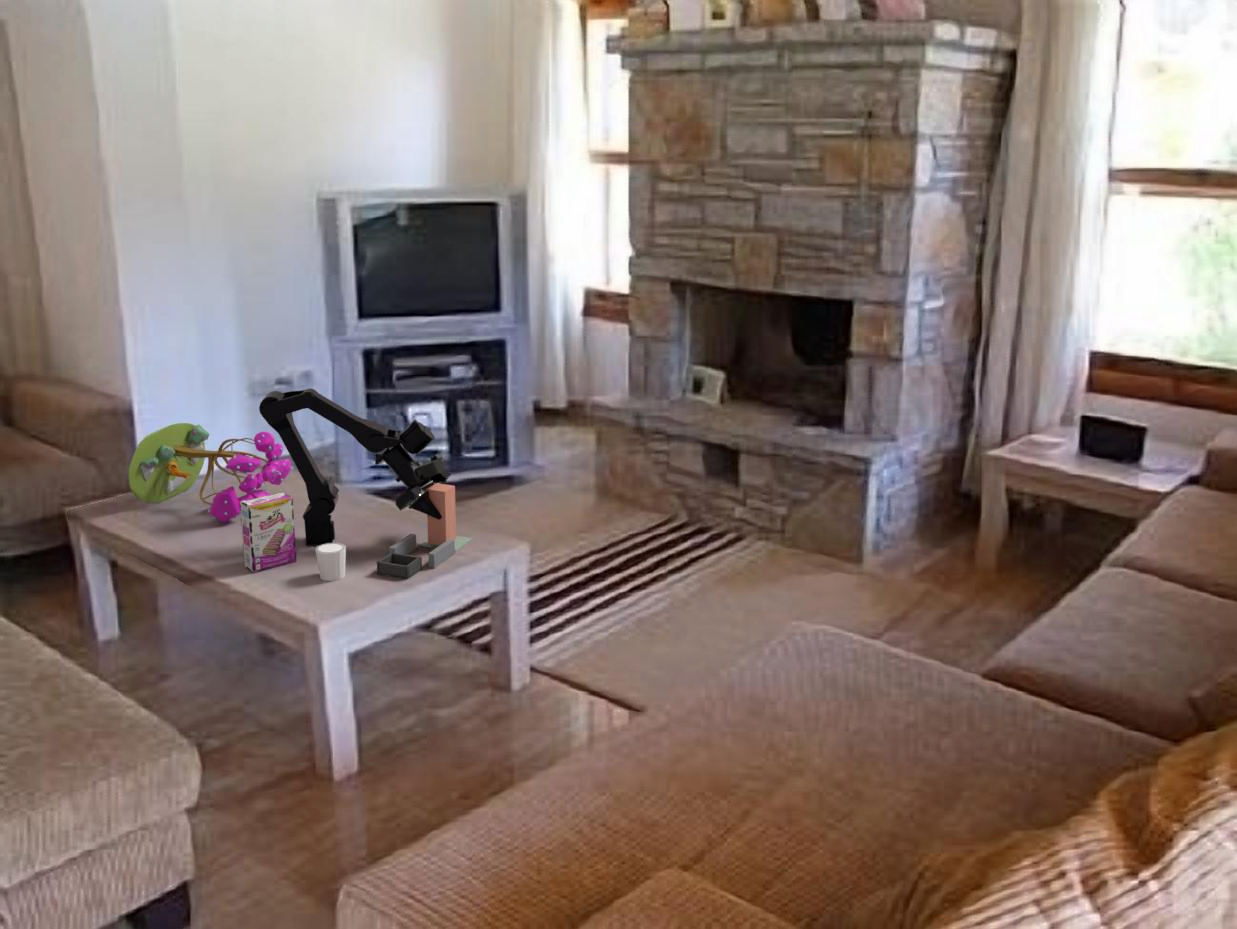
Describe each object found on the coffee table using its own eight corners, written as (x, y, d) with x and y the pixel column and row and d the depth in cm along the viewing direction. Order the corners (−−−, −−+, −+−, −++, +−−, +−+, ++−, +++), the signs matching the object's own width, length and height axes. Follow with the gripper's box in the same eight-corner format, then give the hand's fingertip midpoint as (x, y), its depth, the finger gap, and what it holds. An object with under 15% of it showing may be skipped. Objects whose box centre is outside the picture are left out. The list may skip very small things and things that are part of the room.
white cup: (319, 570, 269) (317, 542, 267) (349, 570, 270) (347, 541, 268) (314, 582, 263) (312, 553, 261) (345, 581, 263) (343, 552, 261)
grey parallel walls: (389, 561, 275) (389, 547, 274) (411, 547, 284) (410, 533, 283) (434, 568, 271) (434, 554, 270) (454, 553, 280) (454, 540, 279)
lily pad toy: (196, 384, 317) (300, 416, 305) (214, 470, 333) (312, 503, 321) (113, 436, 295) (221, 473, 283) (136, 526, 311) (239, 564, 299)
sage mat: (419, 545, 285) (419, 545, 285) (437, 533, 293) (437, 533, 293) (455, 551, 282) (455, 550, 282) (472, 538, 290) (472, 538, 290)
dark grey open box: (377, 574, 268) (376, 562, 267) (392, 564, 273) (391, 552, 273) (407, 579, 265) (407, 566, 264) (422, 569, 271) (421, 557, 270)
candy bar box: (254, 574, 267) (248, 506, 262) (244, 567, 271) (238, 501, 266) (298, 561, 275) (293, 496, 270) (288, 556, 278) (282, 491, 273)
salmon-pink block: (428, 543, 284) (426, 489, 280) (438, 536, 288) (436, 483, 284) (446, 546, 282) (445, 491, 278) (456, 539, 287) (455, 485, 282)
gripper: (404, 457, 271) (447, 507, 271) (442, 437, 288) (484, 484, 287) (376, 485, 276) (419, 534, 276) (416, 463, 293) (456, 510, 292)
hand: (446, 515), depth 283 cm, fingers closed on salmon-pink block, 5 cm apart
